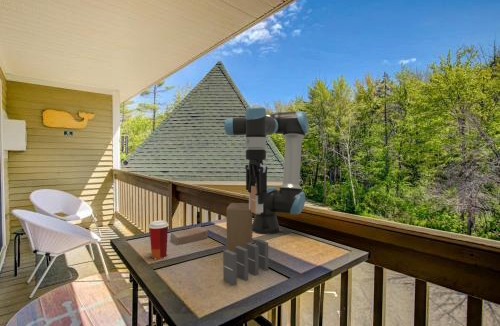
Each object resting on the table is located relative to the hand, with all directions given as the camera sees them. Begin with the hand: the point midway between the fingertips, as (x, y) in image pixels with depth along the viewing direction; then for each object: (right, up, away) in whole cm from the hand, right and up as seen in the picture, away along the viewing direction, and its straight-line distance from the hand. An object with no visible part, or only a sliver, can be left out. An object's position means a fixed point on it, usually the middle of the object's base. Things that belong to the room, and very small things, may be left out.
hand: (255, 210), depth 98 cm
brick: (-32, -20, +29) cm, 47 cm away
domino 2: (-5, -21, -9) cm, 23 cm away
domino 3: (-2, -21, -6) cm, 22 cm away
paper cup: (-39, -20, +8) cm, 45 cm away
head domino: (0, -1, 0) cm, 1 cm away
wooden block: (-7, -20, +14) cm, 26 cm away
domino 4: (+2, -21, -2) cm, 21 cm away
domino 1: (-9, -21, -13) cm, 26 cm away
